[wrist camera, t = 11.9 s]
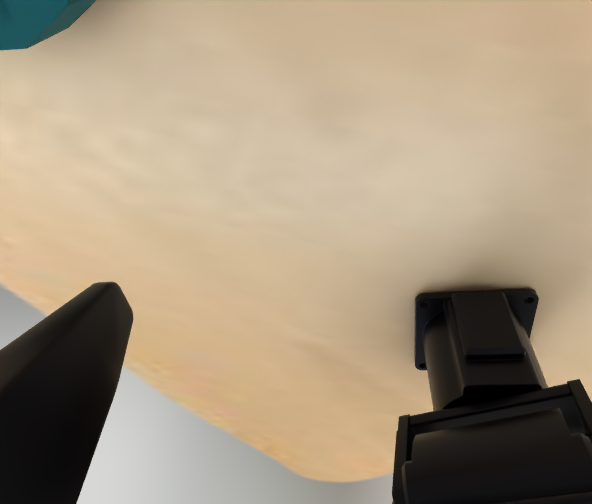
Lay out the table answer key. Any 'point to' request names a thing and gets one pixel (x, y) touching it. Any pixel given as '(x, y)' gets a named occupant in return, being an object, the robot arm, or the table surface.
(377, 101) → the table surface
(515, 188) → the table surface
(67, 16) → the ring
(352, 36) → the table surface
